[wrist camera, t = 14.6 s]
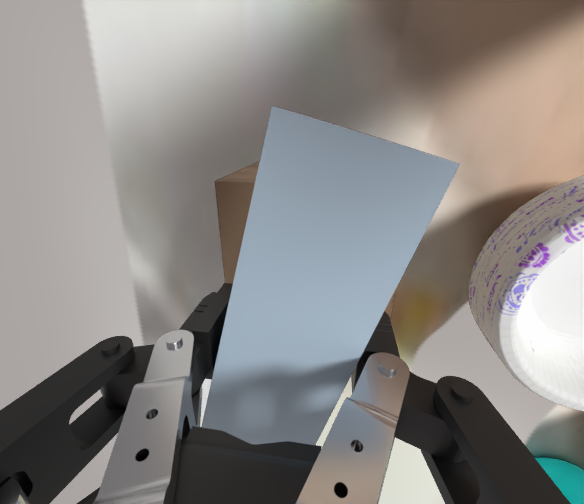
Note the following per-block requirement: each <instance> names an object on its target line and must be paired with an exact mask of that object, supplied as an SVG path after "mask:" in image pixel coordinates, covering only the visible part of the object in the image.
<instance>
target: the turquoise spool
mask: <svg viewBox="0 0 584 504" xmlns="http://www.w3.org/2000/svg"><path fill="white" fill-rule="evenodd" d="M535 459H536V460H537V462H538V463H539V464H540V465H541V467H542V468H543V469H544V470H545V472H546V473H547V474H548V475H549V477H550V478H551V479H552V480H553V482H554V483H555V484H556V485H557V487H558V488H559V489H560V491H561V492H562V493H563V494H564V496H565V497H566V498H567V499H568V501H569V502H570V503H571V504H584V470H583V469H581V468H579V467H578V466H576V465H574V464H571V463H568V462H566V461H562V460H559V459H553V458H535Z"/></svg>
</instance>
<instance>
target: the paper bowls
mask: <svg viewBox="0 0 584 504" xmlns="http://www.w3.org/2000/svg"><path fill="white" fill-rule="evenodd" d="M468 294H469V305H470V308H471V311H472V314H473V316H474V318H475V321H476V323H477V325H478V327H479V328H480V330H481V331H482V333H483V334H484V336H485V338H486V339H487V341H488V342H489V344H490V345H491V347H492V348H493V350H494V351H495V352H496V353H497V355H498V357H499V358H500V359H501V361H502V362H503V364H504V365H505V367H506V368H507V369H508V370H509V372H510V373H511V374H512V376H513V377H515V379H517V380H518V381H519V382H521V383H522V384H523V385H524V386H525V387H526V388H528V389H529V390H531V391H532V392H534V393H536V394H538V395H539V396H541V397H543V398H545V399H547V400H549V401H552V402H554V403H556V404H559V405H562V406H565V407H568V408H572V409H575V410H579V411H584V176H580V177H577V178H574V179H572V180H570V181H567V182H564V183H562V184H561V185H559V186H557V187H553V188H550V189H549V190H546V191H545V192H543V193H541V194H539V195H538V196H537V197H535V198H533V199H531V200H530V201H528V202H527V203H525V204H524V205H523V206H521V207H519V208H518V209H517V210H516V211H515V212H513V213H512V214H511V215H510V216H509V217H508V218H507V219H506V220H505V221H504V222H503V223H502V224H501V225H500V226H499V227H498V228H497V229H496V230H495V231H494V233H493V234H492V235H491V236H490V237H489V239H488V240H487V242H486V244H485V245H484V246H483V249H482V251H481V252H480V254H479V256H478V258H477V260H476V262H475V264H474V266H473V268H472V273H471V276H470V282H469V290H468Z"/></svg>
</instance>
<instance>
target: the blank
mask: <svg viewBox="0 0 584 504" xmlns="http://www.w3.org/2000/svg"><path fill="white" fill-rule="evenodd" d="M459 165H460V164H459V163H456V162H453V161H450V160H447V159H444V158H441V157H438V156H435V155H432V154H429V153H425V152H422V151H419V150H416V149H413V148H410V147H407V146H404V145H400V144H397V143H394V142H391V141H387V140H384V139H381V138H378V137H374V136H371V135H368V134H365V133H361V132H358V131H355V130H352V129H348V128H345V127H342V126H339V125H335V124H332V123H329V122H326V121H322V120H319V119H316V118H313V117H309V116H306V115H303V114H300V113H296V112H292V111H289V110H285V109H281V108H278V107H274V106H272V108H271V112H270V117H269V121H268V126H267V131H266V135H265V140H264V144H263V149H262V153H261V158H260V162H259V167H258V172H257V176H256V181H255V185H254V190H253V194H252V199H251V204H250V208H249V213H248V217H247V222H246V226H245V231H244V235H243V240H242V245H241V249H240V254H239V258H238V263H237V267H236V272H235V277H234V281H233V286H232V290H231V295H230V299H229V304H228V308H227V313H226V318H225V322H224V327H223V331H222V336H221V340H220V345H219V350H218V354H217V359H216V363H215V368H214V372H213V377H212V381H211V386H210V391H209V395H208V400H207V404H206V409H205V413H204V418H203V423H202V428H209V429H215V430H221V431H224V432H226V433H229V434H231V435H233V436H235V437H237V438H239V439H241V440H243V441H245V442H248V443H250V444H254V445H255V444H266V443H275V442H285V441H291V442H297V443H303V444H310V445H315V444H316V442H317V441H318V439H319V437H320V435H321V433H322V431H323V429H324V427H325V425H326V423H327V421H328V419H329V417H330V415H331V413H332V411H333V409H334V408H335V406H336V404H337V402H338V400H339V398H340V396H341V394H342V392H343V390H344V388H345V386H346V384H347V382H348V380H349V378H350V377H351V375H352V373H353V371H354V369H355V367H356V365H357V363H358V361H359V359H360V357H361V355H362V353H363V351H364V349H365V348H366V346H367V344H368V342H369V340H370V338H371V336H372V334H373V332H374V330H375V328H376V326H377V324H378V322H379V320H380V318H381V316H382V315H383V313H384V311H385V309H386V307H387V305H388V303H389V301H390V299H391V297H392V295H393V293H394V291H395V289H396V287H397V285H398V284H399V282H400V280H401V278H402V276H403V274H404V272H405V270H406V268H407V266H408V264H409V262H410V260H411V258H412V256H413V254H414V252H415V251H416V249H417V247H418V245H419V243H420V241H421V239H422V237H423V235H424V233H425V231H426V229H427V227H428V225H429V223H430V221H431V220H432V218H433V216H434V214H435V212H436V210H437V208H438V206H439V204H440V202H441V200H442V198H443V196H444V194H445V192H446V190H447V188H448V187H449V185H450V183H451V181H452V179H453V177H454V175H455V173H456V171H457V169H458V167H459Z"/></svg>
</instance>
